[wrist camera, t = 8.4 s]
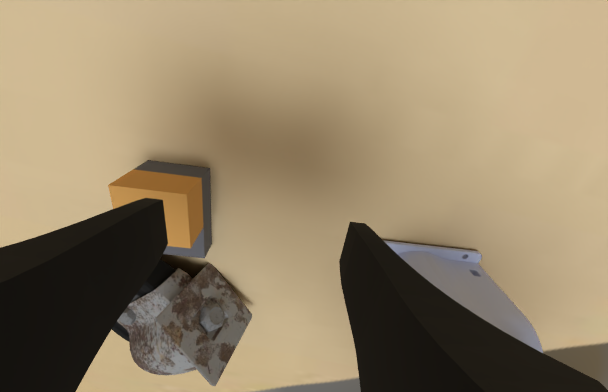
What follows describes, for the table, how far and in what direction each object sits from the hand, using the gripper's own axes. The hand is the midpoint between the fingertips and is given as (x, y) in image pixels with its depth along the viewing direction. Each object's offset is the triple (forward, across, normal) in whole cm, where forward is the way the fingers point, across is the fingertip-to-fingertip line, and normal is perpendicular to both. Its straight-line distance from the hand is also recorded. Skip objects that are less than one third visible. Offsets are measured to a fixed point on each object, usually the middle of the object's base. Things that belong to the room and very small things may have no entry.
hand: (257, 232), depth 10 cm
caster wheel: (+10, +8, +14) cm, 19 cm away
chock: (+10, +7, +5) cm, 13 cm away
